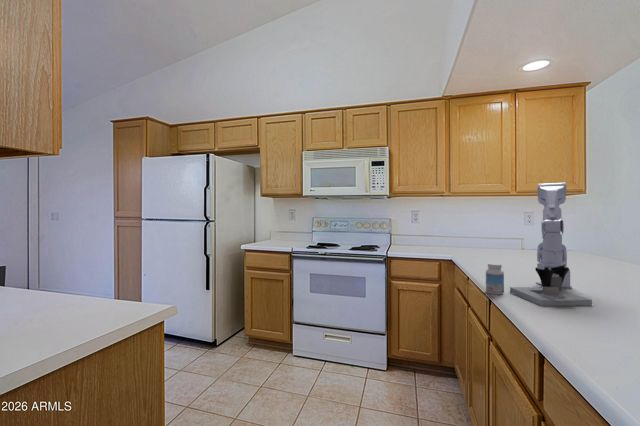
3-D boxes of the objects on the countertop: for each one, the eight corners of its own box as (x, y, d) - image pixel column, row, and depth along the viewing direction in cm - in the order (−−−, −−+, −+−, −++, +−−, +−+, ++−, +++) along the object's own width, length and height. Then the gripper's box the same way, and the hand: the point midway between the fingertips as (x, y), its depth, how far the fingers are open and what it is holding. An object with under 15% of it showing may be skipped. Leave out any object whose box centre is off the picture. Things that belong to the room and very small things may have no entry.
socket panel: (553, 292, 114) (553, 287, 114) (591, 305, 98) (591, 299, 98) (510, 292, 114) (510, 287, 114) (541, 305, 98) (541, 299, 98)
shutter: (558, 294, 103) (558, 286, 103) (574, 300, 96) (575, 291, 96) (540, 294, 103) (540, 286, 103) (555, 300, 96) (555, 291, 96)
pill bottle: (507, 294, 111) (507, 265, 110) (491, 294, 111) (491, 265, 111) (498, 290, 117) (498, 262, 117) (482, 290, 117) (482, 262, 117)
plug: (553, 287, 113) (553, 272, 113) (561, 290, 109) (561, 275, 109) (542, 287, 113) (542, 272, 113) (551, 290, 109) (551, 275, 109)
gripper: (552, 248, 117) (552, 282, 117) (528, 250, 111) (528, 286, 112) (573, 250, 110) (573, 286, 110) (549, 253, 105) (549, 290, 105)
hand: (552, 286), depth 111 cm, fingers open, 7 cm apart
